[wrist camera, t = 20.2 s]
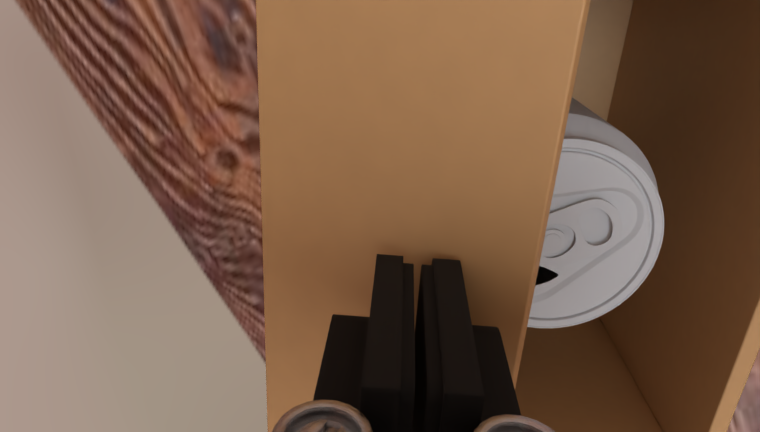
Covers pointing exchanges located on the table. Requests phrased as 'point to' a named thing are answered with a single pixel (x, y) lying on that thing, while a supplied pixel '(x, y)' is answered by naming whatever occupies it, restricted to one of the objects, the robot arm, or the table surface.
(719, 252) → the carton
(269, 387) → the flap
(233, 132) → the table surface
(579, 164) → the beverage can
